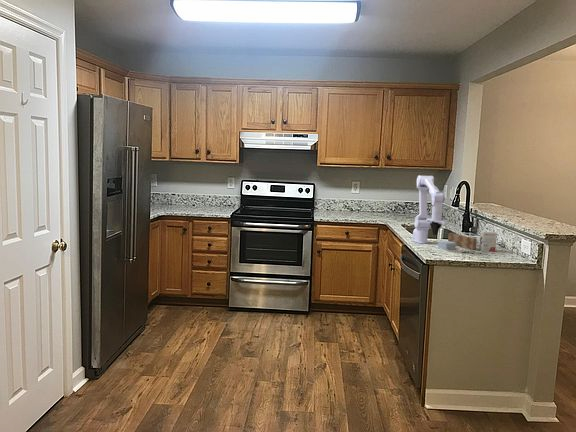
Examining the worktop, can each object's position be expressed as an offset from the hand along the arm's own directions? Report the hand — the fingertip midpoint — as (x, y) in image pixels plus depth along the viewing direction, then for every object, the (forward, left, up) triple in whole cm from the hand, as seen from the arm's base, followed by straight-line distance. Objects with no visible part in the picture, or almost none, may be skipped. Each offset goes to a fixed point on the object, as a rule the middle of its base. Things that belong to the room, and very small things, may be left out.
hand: (435, 234), depth 292 cm
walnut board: (0, +24, -9) cm, 26 cm away
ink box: (+14, +31, -9) cm, 35 cm away
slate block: (0, +11, -9) cm, 14 cm away
